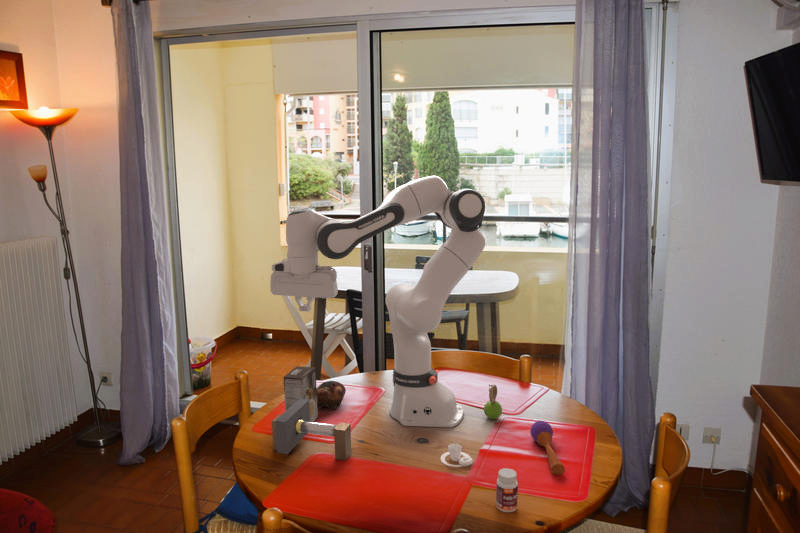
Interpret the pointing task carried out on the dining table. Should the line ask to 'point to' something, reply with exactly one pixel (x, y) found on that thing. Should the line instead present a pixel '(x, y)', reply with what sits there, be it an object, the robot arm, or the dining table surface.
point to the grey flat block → (291, 426)
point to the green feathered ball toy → (492, 404)
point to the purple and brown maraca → (547, 444)
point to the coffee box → (301, 388)
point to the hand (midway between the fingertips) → (305, 310)
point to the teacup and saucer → (456, 456)
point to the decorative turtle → (330, 394)
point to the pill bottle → (507, 490)
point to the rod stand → (337, 431)
